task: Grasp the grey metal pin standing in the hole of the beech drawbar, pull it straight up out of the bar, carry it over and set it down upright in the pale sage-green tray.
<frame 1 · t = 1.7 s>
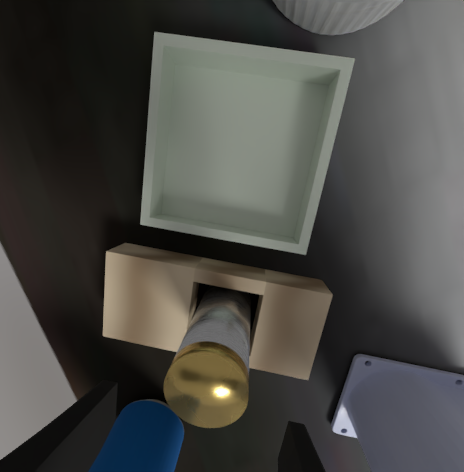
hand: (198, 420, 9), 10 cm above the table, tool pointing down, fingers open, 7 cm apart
beverage can: (155, 417, 22), on the table
drawbar: (214, 300, 19), on the table
tray: (238, 156, 16), on the table
pin: (226, 302, 19), resting in drawbar
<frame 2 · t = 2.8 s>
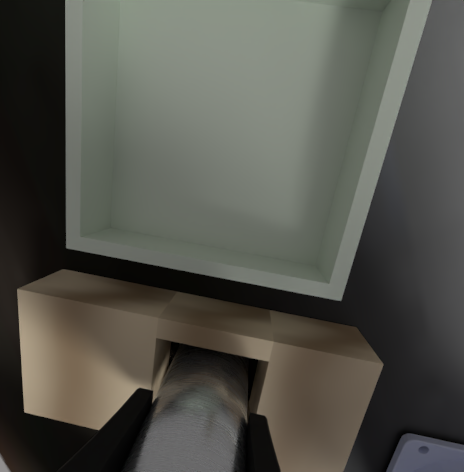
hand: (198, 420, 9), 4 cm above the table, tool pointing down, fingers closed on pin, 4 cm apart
drawbar: (196, 352, 13), on the table
tray: (228, 138, 10), on the table
pin: (213, 355, 13), resting in drawbar, touching gripper
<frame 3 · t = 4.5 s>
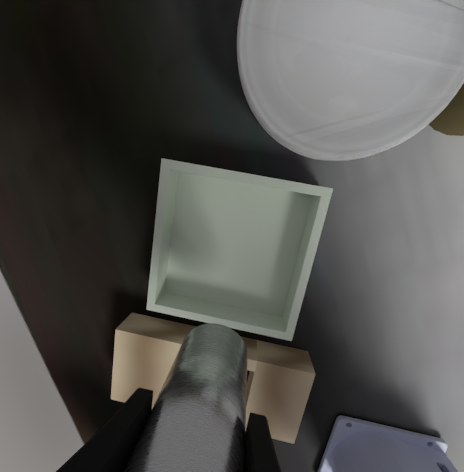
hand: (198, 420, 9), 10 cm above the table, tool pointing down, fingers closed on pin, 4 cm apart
ramekin: (322, 83, 16), on the table
drawbar: (211, 364, 21), on the table
tray: (233, 245, 18), on the table
pin: (214, 353, 14), point 6 cm above the table, touching gripper
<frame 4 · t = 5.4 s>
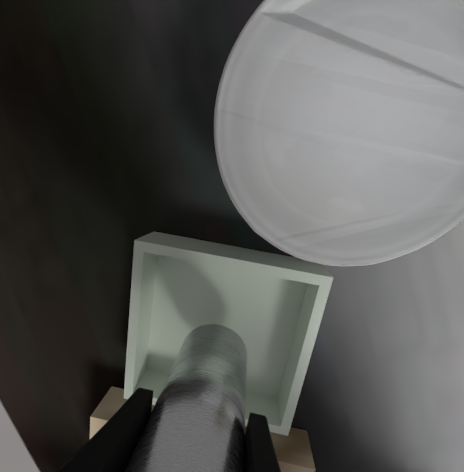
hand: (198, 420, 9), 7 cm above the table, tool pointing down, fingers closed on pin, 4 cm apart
ramekin: (319, 147, 14), on the table
drawbar: (201, 441, 19), on the table
tray: (222, 320, 16), on the table
pin: (214, 353, 14), point 3 cm above the table, touching gripper
when the fingers open (5 cm above the table, at t = 6.1 s): pin stays where it is, resting on tray.
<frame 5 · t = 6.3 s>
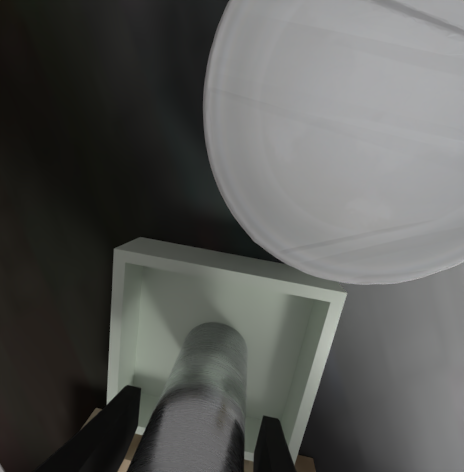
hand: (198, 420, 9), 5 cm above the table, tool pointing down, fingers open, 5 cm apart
ramekin: (329, 141, 12), on the table
drawbar: (195, 467, 17), on the table
tray: (218, 336, 14), on the table
pin: (215, 351, 14), point 1 cm above the table, touching tray
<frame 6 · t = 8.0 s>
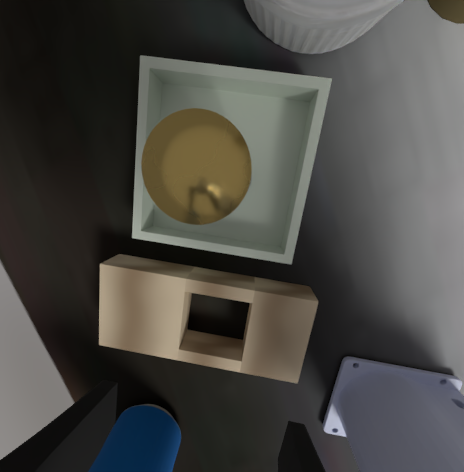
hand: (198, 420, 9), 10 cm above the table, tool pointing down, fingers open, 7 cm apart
beverage can: (153, 421, 23), on the table
drawbar: (207, 307, 19), on the table
tray: (225, 169, 17), on the table
pin: (223, 177, 16), point 1 cm above the table, touching tray
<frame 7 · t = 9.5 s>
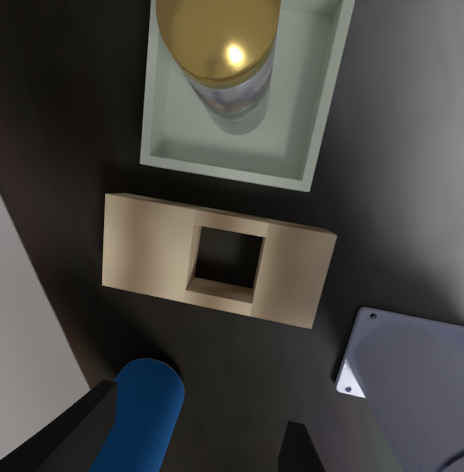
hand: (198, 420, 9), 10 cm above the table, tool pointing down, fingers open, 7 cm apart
beverage can: (155, 379, 22), on the table
drawbar: (216, 252, 18), on the table
tray: (240, 98, 16), on the table
pin: (238, 103, 15), point 1 cm above the table, touching tray
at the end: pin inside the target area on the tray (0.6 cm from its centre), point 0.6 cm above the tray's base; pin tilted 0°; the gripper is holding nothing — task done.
